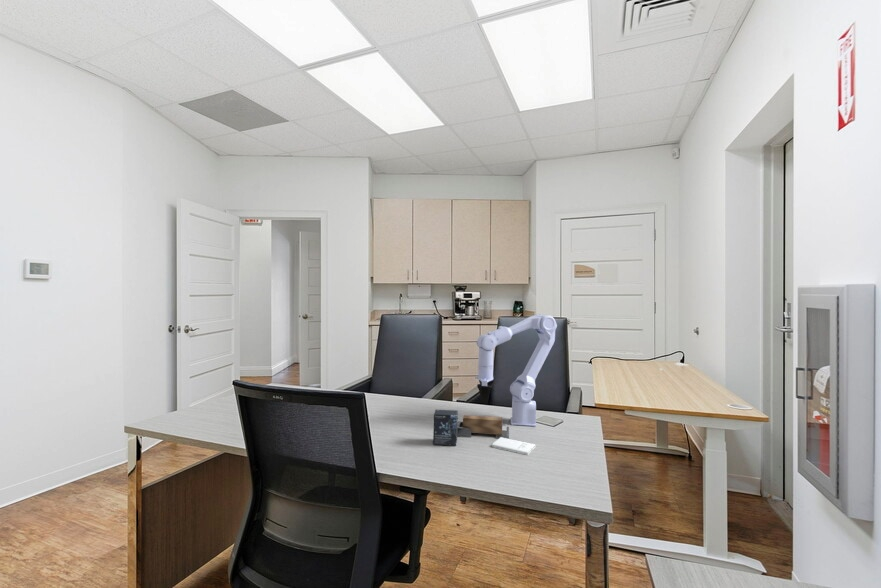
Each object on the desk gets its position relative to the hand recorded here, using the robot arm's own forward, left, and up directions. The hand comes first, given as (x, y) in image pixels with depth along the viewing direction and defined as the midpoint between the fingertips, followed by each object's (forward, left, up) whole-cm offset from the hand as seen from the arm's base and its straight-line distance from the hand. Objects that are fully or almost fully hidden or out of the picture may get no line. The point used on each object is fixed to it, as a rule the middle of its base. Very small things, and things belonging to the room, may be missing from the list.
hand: (485, 400), depth 160 cm
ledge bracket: (-7, +11, -9) cm, 16 cm away
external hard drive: (-11, +21, -10) cm, 26 cm away
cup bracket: (+7, +11, -9) cm, 16 cm away
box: (+12, +22, -10) cm, 27 cm away
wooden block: (0, +11, -8) cm, 14 cm away
